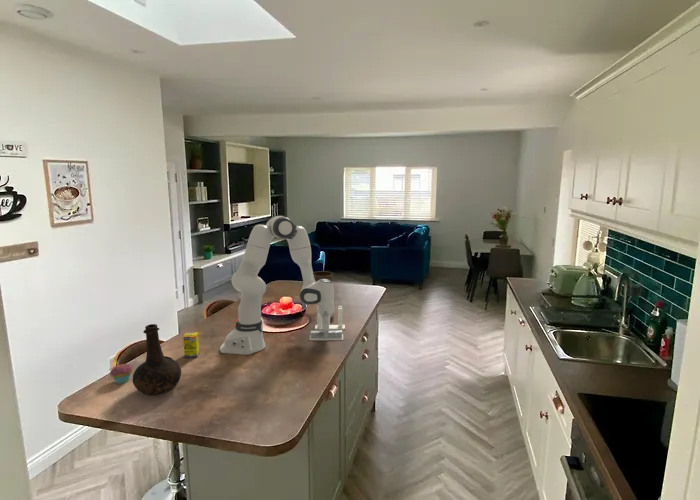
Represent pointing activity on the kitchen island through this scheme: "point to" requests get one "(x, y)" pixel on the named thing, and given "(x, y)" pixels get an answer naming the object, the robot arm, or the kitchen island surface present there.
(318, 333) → the rail
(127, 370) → the cupcake
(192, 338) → the supplement box
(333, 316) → the flower pot
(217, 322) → the kitchen island surface
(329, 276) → the plant pot
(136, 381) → the glass bottle
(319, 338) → the pad
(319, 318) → the twin post stand
